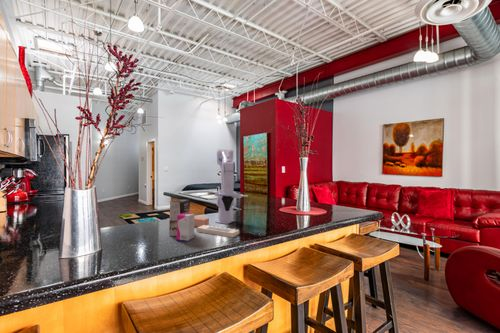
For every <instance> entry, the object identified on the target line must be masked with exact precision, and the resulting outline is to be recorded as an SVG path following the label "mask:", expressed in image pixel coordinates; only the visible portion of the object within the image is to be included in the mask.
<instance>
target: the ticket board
mask: <svg viewBox="0 0 500 333" xmlns="http://www.w3.org/2000/svg"><path fill="white" fill-rule="evenodd" d="M196 232H198V233H203V234H208V235H215V236H222V237H227V238H234V237H236V236H238V235H240V229H237V228H230V227H223V226H216V225H210V224H209V225H202V226H200V227H196Z"/></svg>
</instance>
